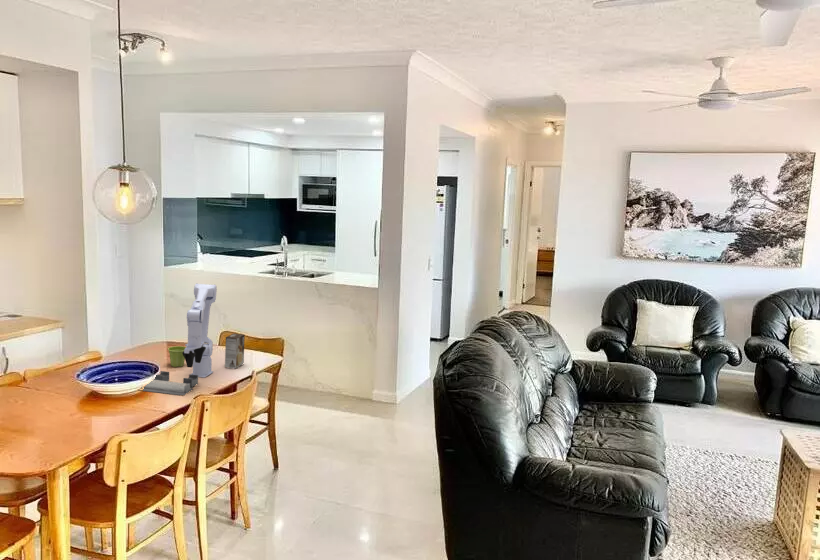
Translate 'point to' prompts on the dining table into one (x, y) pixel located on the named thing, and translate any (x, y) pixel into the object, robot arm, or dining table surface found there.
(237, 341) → the coffee box
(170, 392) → the mat
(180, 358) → the plant pot
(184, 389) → the rail
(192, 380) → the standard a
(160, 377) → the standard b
